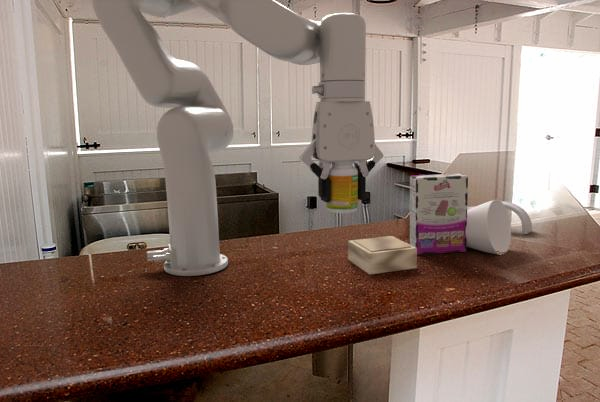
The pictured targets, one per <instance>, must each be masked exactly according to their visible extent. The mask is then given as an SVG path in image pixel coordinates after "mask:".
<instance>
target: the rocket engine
mask: <svg viewBox="0 0 600 402" xmlns="http://www.w3.org/2000/svg"><path fill="white" fill-rule="evenodd" d="M501 201H502V200H500V199H493V200H489V201H486V202H484V203H481V204H479V205H475V206H473V207H474V208H472V209H469V210H467V225H466V230H465V234H466V239H467V244H466V248H467V247H468V248H470V249H473V250H476V251H481V252H484V253H489V254H493V255H500V256H503V255H502V254H499V253H498V252H496V251H499V252H506V253H507V252H508V250H509V248H510V245H511V241H512V240H511V239H512V225H511V219H510V215H509V212H508V209H507V208H506V207H505V206H504V204H503V203H502V202H501Z"/></svg>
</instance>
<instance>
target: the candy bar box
mask: <svg viewBox="0 0 600 402" xmlns="http://www.w3.org/2000/svg"><path fill="white" fill-rule="evenodd" d="M468 182H469V175H467V174H464V173H442V174H441V173H439V174H421V175H420V174H419V175H410V176H409V244H410V245H412V246H414V247H416V248H417V256H418V255H432V254H433V255H434V254H435V255H436V254H437V255H439V254H450V253H451V254H452V253H454V254H455V253H466V252H467V246H466V244H467V239H466V234H465V230H466V225H467V207H468V193H469V189H468V188H469V187H468V186H469V183H468Z"/></svg>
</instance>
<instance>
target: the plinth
mask: <svg viewBox="0 0 600 402" xmlns="http://www.w3.org/2000/svg"><path fill="white" fill-rule="evenodd" d="M347 255H348V256H347V258H348V259H347V260H348V261H350V263H352V264H354V265H355V266H356V267H358V268H359V269H361V270H363V272H365V273H367V274H368V275H375V274H383V273H389V272H390V273H391V272H398V271H404V270H411V269H417V268H418V266H417V265H418V263H417V262H418V261H417V260H418V255H417V248H416V247H414V246H412V245H410V243H408V242H405V241H403V240H402V239H399V238H397V237H396V236H393V235H387V236H378V237H371V238H370V237H369V238H360V239H353V240H348V241H347Z"/></svg>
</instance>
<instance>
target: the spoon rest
mask: <svg viewBox="0 0 600 402" xmlns="http://www.w3.org/2000/svg"><path fill="white" fill-rule="evenodd" d="M500 201H501V202H502V203H503V204H504V206H505V207H506V210H510V211H512V212H513V213H514V214H516V215H517V216H518V218H519V219H520V221H521V227H522V234H523V235H528V234H529V233H531V232H532V231H533V225H532V220H531V217H530V216H529V214H528V213H527V211H526V210H525V209H524V208H522V206H519V205H517V204H515V203H513V202H511V201H502V200H500ZM474 207H475V206H467V210H469V209H472V208H474Z"/></svg>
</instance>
